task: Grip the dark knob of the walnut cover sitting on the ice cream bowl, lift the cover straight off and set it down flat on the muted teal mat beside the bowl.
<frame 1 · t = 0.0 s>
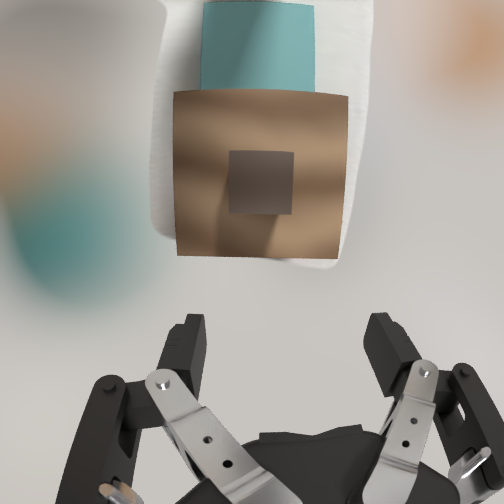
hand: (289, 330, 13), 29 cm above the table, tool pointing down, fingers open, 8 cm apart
walnut cover: (259, 171, 27), point 13 cm above the table, touching ice cream bowl
teal mat: (258, 47, 31), on the table
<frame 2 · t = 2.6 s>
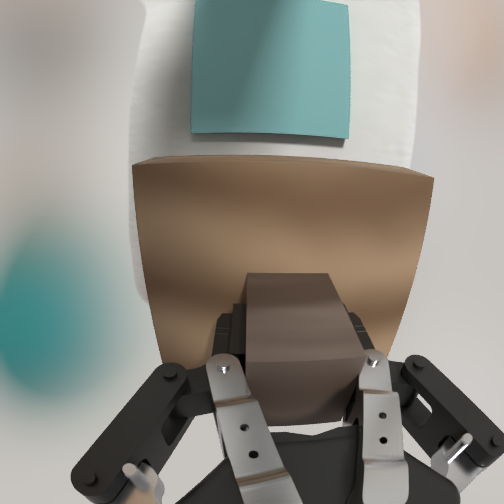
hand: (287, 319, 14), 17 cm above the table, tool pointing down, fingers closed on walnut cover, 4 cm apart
walnut cover: (279, 275, 18), point 12 cm above the table, touching gripper, ice cream bowl
teal mat: (272, 60, 23), on the table
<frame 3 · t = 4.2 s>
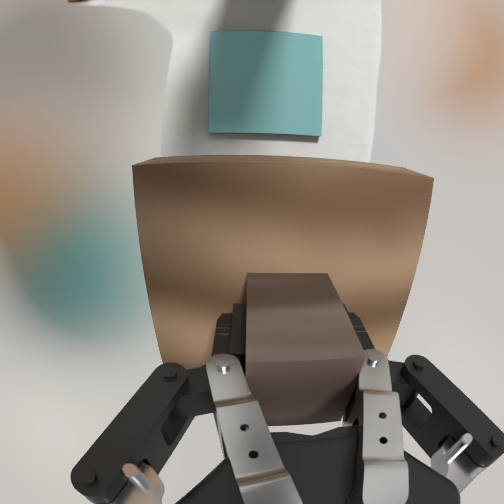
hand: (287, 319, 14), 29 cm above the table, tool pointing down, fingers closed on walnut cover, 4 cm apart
walnut cover: (279, 275, 18), point 24 cm above the table, touching gripper
teal mat: (266, 80, 34), on the table
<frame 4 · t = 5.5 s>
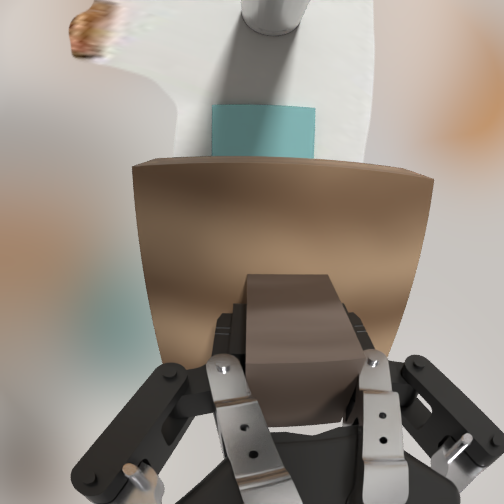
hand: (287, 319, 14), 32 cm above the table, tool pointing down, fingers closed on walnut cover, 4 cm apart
walnut cover: (279, 276, 18), point 28 cm above the table, touching gripper
teal mat: (262, 154, 41), on the table
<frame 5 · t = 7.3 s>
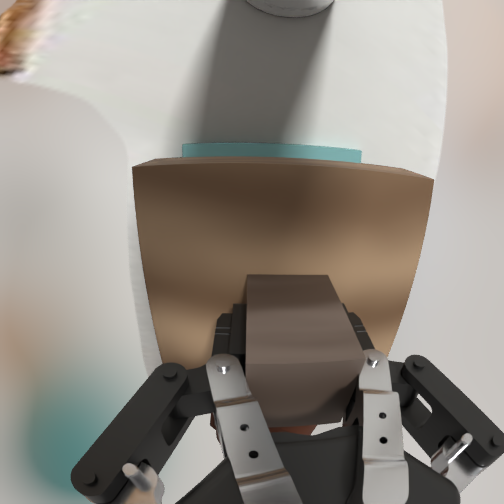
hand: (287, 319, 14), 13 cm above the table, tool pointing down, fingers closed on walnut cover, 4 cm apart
ice cream bowl: (263, 355, 33), on the table
walnut cover: (279, 276, 18), point 9 cm above the table, touching gripper
teal mat: (270, 226, 26), on the table
when the fingers open (7 cm above the table, at t = 8.8 s): walnut cover drops 1 cm, resting on teal mat.
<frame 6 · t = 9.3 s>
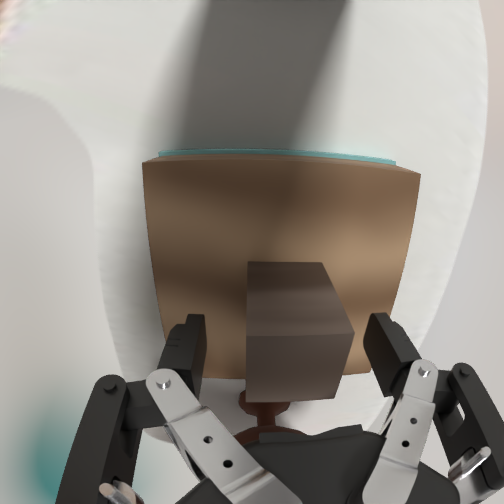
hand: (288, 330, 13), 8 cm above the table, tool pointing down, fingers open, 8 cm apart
ice cream bowl: (265, 398, 27), on the table
walnut cover: (277, 265, 19), point 1 cm above the table, touching teal mat
teal mat: (276, 258, 20), on the table
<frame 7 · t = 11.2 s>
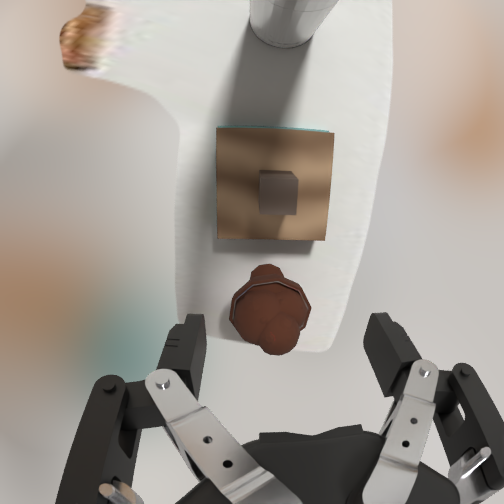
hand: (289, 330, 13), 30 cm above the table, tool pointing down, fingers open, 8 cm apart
ice cream bowl: (266, 278, 47), on the table
walnut cover: (272, 180, 39), point 1 cm above the table, touching teal mat
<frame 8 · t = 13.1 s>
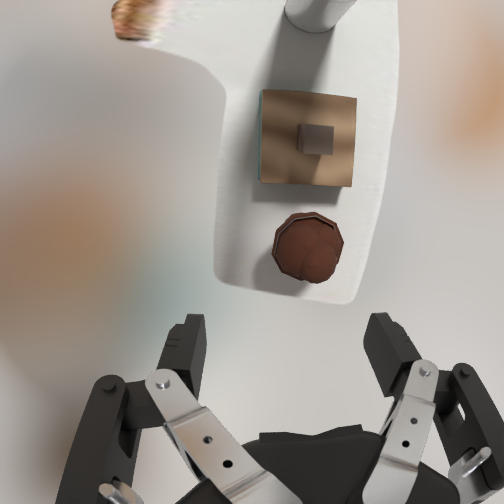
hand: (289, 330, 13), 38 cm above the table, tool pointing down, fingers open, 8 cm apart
ice cream bowl: (298, 227, 51), on the table
walnut cover: (305, 137, 44), point 1 cm above the table, touching teal mat
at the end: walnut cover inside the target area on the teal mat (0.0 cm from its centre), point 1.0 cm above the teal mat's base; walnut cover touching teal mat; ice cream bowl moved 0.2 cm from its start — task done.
